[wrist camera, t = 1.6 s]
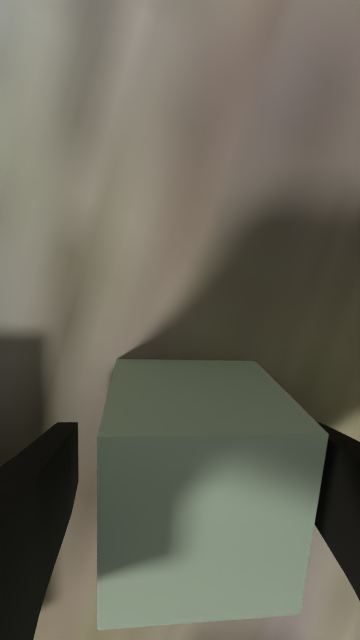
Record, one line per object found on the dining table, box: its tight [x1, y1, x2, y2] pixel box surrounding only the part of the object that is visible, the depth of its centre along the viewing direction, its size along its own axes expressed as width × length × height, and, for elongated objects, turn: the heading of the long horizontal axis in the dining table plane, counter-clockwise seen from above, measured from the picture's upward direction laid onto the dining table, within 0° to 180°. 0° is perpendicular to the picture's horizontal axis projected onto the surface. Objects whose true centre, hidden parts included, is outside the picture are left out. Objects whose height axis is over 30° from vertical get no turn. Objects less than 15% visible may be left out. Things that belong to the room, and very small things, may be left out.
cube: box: [97, 359, 329, 630], centre depth 10 cm, size 5×5×5 cm
